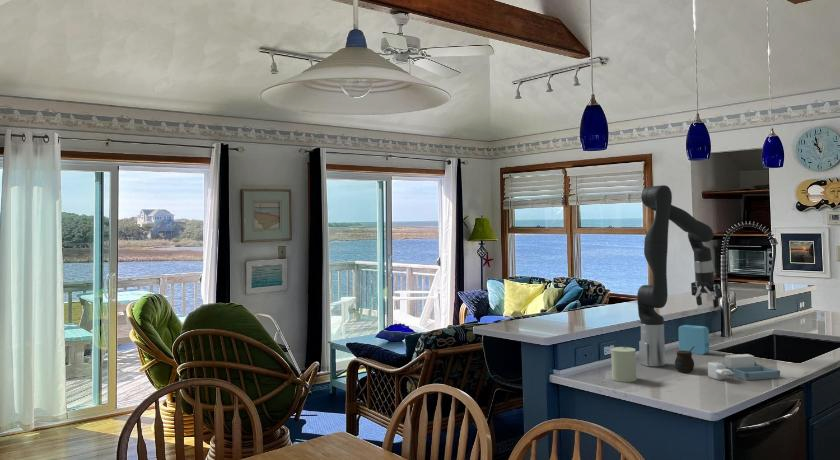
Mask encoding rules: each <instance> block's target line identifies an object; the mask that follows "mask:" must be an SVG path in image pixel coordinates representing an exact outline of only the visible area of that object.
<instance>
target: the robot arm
mask: <svg viewBox="0 0 840 460" xmlns="http://www.w3.org/2000/svg"><path fill="white" fill-rule="evenodd" d="M640 198H641V201H642V204H644V206H646V207H647V208H649V209H650V210H652V211H654V212H655V215H654V218H653V221H652V223H651V225H650V227H649V228H648V230H647V231H646V234H645V238H644V243H643V244H644V247H643V252H644V253H643V254H644V257H645V259H646V262H647V264H648V266H649V268H650V270H651V273H652V279H653V281H652V284H653V285H652V284H645V285H644V284H642V285H641V286H640V287H639V288H638V290H637V298H636V300H637V302H636V303H637V311H638V312H637V313H638V317H639V321H640V340H639V342H638V345H639V346H638V348H639V349H638V350H639V364H641V365H643V366H646V367H663V366H666V347H665V345H666V344H665V319H664V317H663V315H661V314H659V313H658V312H656V310H655V309H662V308H664V307H665V306H666V304H667V301H668V294H669V293H668V277H667V275H668V274H667V266H668V265H667V263H668V261H667V260H668V246H669V226H670V225H669V223H670V221H671V222H672V223H673V224H674V225H676V226H677V227H678V228H680V229H681V230H682V231H683V232H685V233H687V239H688V242H689V244H690V246H691V249H692V252H693V258H694V272H695V273H694V274H695V281H693V282H691V283H690V288H691V289H690V290H691V295H692V296H694V297H695V300H696V304H697V306H702V305H703V302H702V301H703V299H702V295H703V294H708V295H709V296H711V298H712V304H713V308H715V309H716V308H718V307H719V306H720V302H719V299H722V298H723V291H722V285H721V284H720V283H717V284H715V283H714V282H715V272H714V265H713V260H712V259H713V258H712V251H711V248H710V247H708V246H706V245H704V244H703V243H708V242H711V241H712V240H713V238H714V231H713V229H712V228H711V227H710V226H709V225H708V224H706V223H704V222H702V221H700V220H698V219H696V218H695V217H694V216H693V215H691V214H690V213H689V212H688V211H686V210H684V209H682V208H680V207H677V206H676V205H673V204H672V203H673V202H672V201H673V193H672V190H671V188H670V187H669V186H668V185H663V184H662V185H661V184H660V185H655V186H654V185H653V186H648V187H646V188H644V189H643V190H642V192H641V196H640Z"/></svg>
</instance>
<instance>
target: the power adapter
mask: <svg viewBox="0 0 840 460" xmlns="http://www.w3.org/2000/svg"><path fill="white" fill-rule="evenodd" d="M722 363H723V362H717V361H711V362H710V361H709V362H708V363H707V376H708V377H709V378H710V379H713V380H716V381H721V380H723V381H724V380H726V378H727V376H733V375H736V373H733V372H732V371H731V370H729V369H726V366H725V365H724V364H722ZM731 374H733V375H731Z"/></svg>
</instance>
